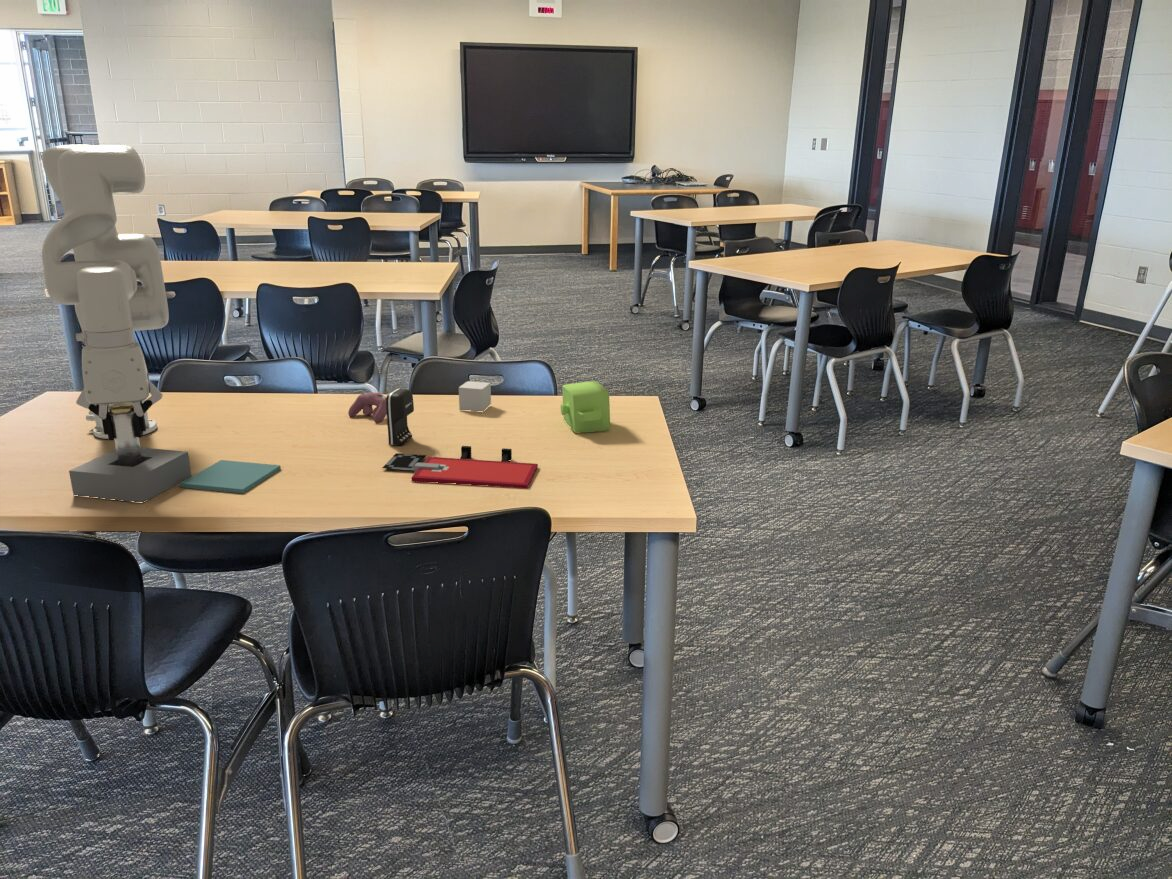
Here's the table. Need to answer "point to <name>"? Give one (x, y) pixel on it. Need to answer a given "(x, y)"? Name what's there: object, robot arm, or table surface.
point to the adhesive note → (474, 396)
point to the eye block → (131, 475)
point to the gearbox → (586, 406)
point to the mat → (230, 476)
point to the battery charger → (399, 415)
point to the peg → (125, 434)
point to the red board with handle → (466, 469)
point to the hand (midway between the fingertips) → (126, 435)
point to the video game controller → (369, 406)
